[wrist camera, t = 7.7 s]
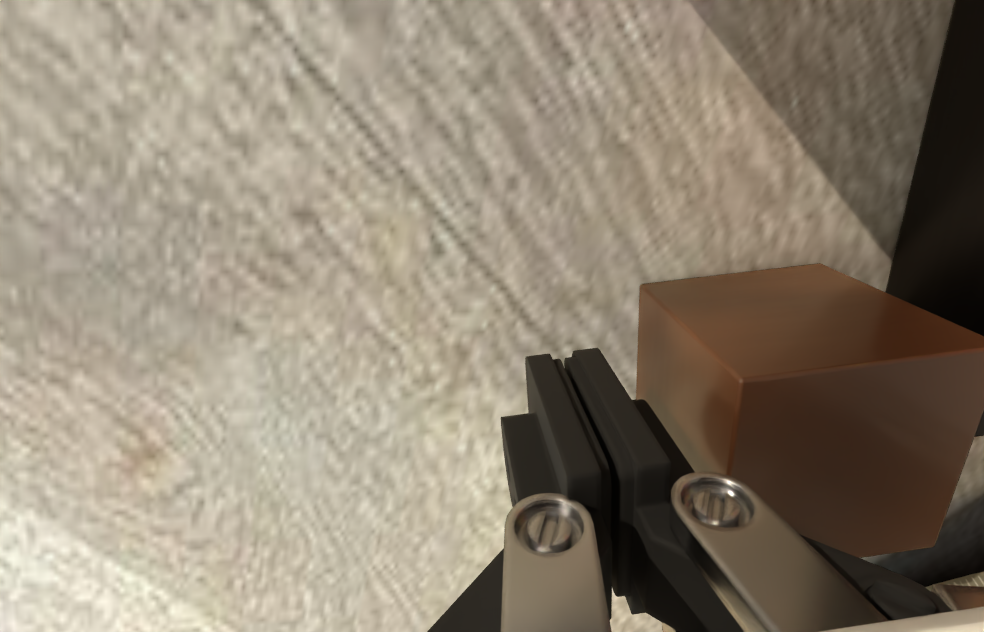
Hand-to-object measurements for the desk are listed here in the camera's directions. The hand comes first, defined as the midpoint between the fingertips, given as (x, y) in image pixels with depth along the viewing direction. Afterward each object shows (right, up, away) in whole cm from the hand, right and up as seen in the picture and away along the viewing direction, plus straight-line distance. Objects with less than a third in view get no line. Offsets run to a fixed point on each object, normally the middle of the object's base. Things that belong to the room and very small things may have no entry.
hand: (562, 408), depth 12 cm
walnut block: (+4, +1, +1) cm, 5 cm away
